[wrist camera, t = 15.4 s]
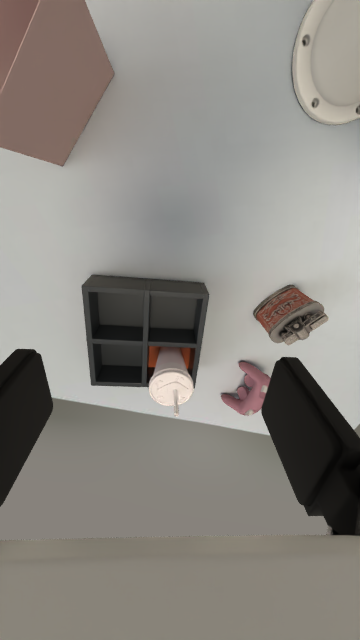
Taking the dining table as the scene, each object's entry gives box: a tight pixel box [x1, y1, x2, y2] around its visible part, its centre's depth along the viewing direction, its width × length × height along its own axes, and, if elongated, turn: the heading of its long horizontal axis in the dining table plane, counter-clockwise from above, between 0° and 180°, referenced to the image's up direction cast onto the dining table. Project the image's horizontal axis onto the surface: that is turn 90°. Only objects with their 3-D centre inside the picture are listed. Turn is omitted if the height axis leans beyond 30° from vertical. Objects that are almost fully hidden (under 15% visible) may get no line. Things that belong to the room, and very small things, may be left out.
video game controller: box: [221, 362, 271, 416], centre depth 45 cm, size 10×5×7 cm, turn 161°
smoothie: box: [149, 347, 194, 416], centre depth 36 cm, size 6×6×14 cm
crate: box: [82, 275, 209, 388], centre depth 39 cm, size 17×17×5 cm
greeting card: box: [0, 0, 114, 166], centre depth 21 cm, size 11×7×15 cm, turn 104°
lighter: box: [253, 285, 328, 345], centre depth 36 cm, size 8×3×10 cm, turn 130°
